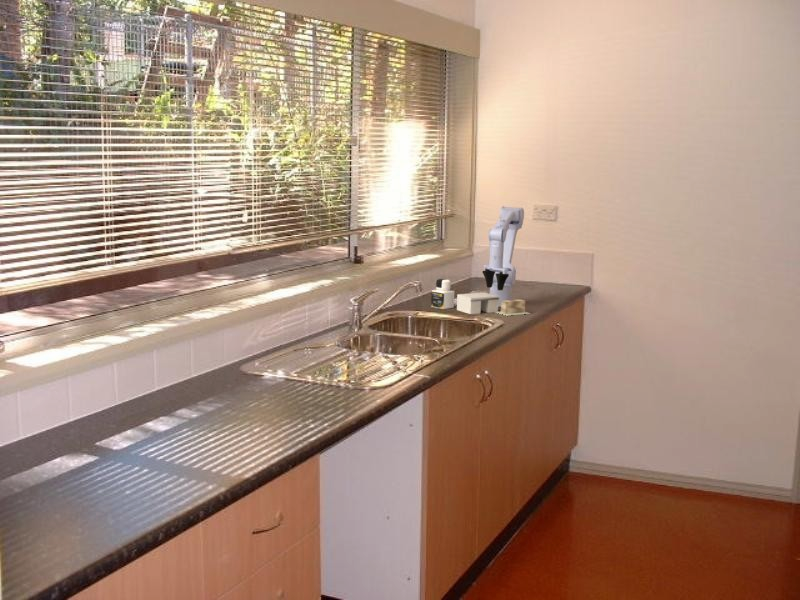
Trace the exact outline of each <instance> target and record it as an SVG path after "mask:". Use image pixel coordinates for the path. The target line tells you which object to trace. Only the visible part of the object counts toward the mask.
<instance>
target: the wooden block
mask: <svg viewBox="0 0 800 600" xmlns="http://www.w3.org/2000/svg"><path fill="white" fill-rule="evenodd" d="M525 310H526V300H525V299H510V300H505V301H501V307H500V311H501V313H504V314H511V313H524V312H526V311H525Z"/></svg>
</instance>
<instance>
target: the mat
mask: <svg viewBox="0 0 800 600" xmlns="http://www.w3.org/2000/svg"><path fill="white" fill-rule="evenodd" d="M494 313H495V314H498V313H499V315H502V314H503V315H502V316H505V315H506V316H507V317H512V316H511V315H514V316H524V314H526V315H531V312H527V311H525V312H524V313H511V314H504V313H501V310H500V311H499V310H498V312H494ZM506 316H505V317H506Z"/></svg>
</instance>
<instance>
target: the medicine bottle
mask: <svg viewBox="0 0 800 600" xmlns="http://www.w3.org/2000/svg"><path fill="white" fill-rule="evenodd" d="M435 282H436V284H435V285H436V286H435V289H433V290H431V293H430V294H431V296H430V301H431V302H430V307H431V308H435V309H441V310H446V309H451V308H455V290H451V283H452V281H451V280H450V279H448V278H438V279H436V281H435Z"/></svg>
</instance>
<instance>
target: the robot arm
mask: <svg viewBox="0 0 800 600" xmlns="http://www.w3.org/2000/svg"><path fill="white" fill-rule="evenodd" d="M524 219H525V210H524V208H523V207H513V206H512V207H511V206H503V205H502V206H501V207H500V211H499V219H498V220H497V221H496V223H495V225H494V226H493V227H491V228H490V229H489V231H488V242H489V243H488V245H489V260H488V261H489V263H488V264H484V265H483V270H482V274H483V276H484V280H485V284H486V288H487V289H489V294H492V295H496V296H499V300H498V308H501V301H505V300H512V299H511V298H512V297H511V296H512V294H511V293H512V286H514V285H515V284H516V283H515V282H516V278H517V276H516V274H517V269H516V268H515V267H514V265H513V264H512V262H513V261H512V259H513V255H514V249H515V243H516V238H517V234H518V231H519V230H520V229H522V228H523V224H524Z"/></svg>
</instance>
